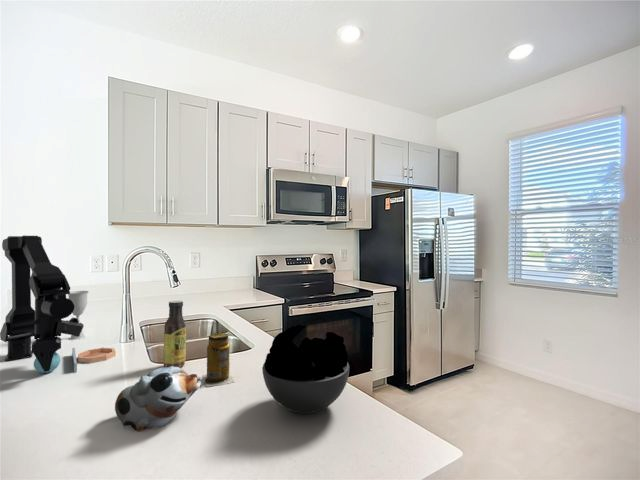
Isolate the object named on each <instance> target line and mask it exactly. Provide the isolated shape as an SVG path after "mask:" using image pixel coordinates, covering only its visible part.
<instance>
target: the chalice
mask: <svg viewBox="0 0 640 480" xmlns="http://www.w3.org/2000/svg"><path fill="white" fill-rule="evenodd" d="M88 294H89V290H73V291H70V294H67V295H68V299H70V300H71V301H72V302H73V304H74V310H73V312H72V314H73V316H75V318H78V323H80V321H81V319H80V316H82V315H83V314H84V311H85V309H86V307H87V304H88ZM83 337H84V338H86V335H85V334H84V331H83V330H82V331H81V334H80V336H74V335H70V337H69V339H70V340H80V338H81V339H84V338H83Z"/></svg>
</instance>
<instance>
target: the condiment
mask: <svg viewBox="0 0 640 480" xmlns="http://www.w3.org/2000/svg"><path fill="white" fill-rule="evenodd" d="M206 354H207V355H206V373H205V374H202V379H203V380H204V381H203V382H204V384H205V387H213V386H220V385H226V384H230V383H232V384H233V383H235V381H234V378H233V377H232V375H231V373H230V344H229V335H228V334H227V333H223V332H217V333H212V334H210V335H209V336H208V345H207V347H206Z"/></svg>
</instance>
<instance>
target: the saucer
mask: <svg viewBox="0 0 640 480" xmlns="http://www.w3.org/2000/svg"><path fill="white" fill-rule="evenodd" d="M115 356H116V348H114V347H98V348H97V347H96V348H91V349H87V350H84V351H83V352H80V353H78V354H77V362H78V363H80V362H84V363H87V364H93V363H97V362H103V361H107V360H109V359H111V358H114V357H115ZM84 363H83V364H84Z"/></svg>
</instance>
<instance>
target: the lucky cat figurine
mask: <svg viewBox="0 0 640 480" xmlns="http://www.w3.org/2000/svg"><path fill="white" fill-rule="evenodd" d="M202 382H203V378H202V377H201V376H199V375H198V374H196V373H192V374H189V373H187V372H186V371H185V369H182V367H181V368H179V367H172V366H171V367H166V368H164V367H160V368H156V369H154V370H152V371H150V372H148V373H147V374H146V375H145V374H143V375H141V377H140V379H139V380H138V381H137V382H136V383H134V384H133V385H130V386H126V387H125V388H124V389H123V390H121V391H120V393H119V394H118V395H117V397H116V399H115V403H114V411H115V414H116V417H117V418H118V420H119V421H120V423H121V425H122V426H123V427H129V426H130V427H131V428H132V430H133V431H135V432H142V431H147V430H153V429H158V428H162V426H163V427H165V425H167V424H168V422H170V421H171V420H172V419H174V417H175V416H177V415H176V414H177V413H178V411H179V410H180V409H181V408H182V407H183V406H184V405H185V404H186V403H187V402H188V400H189V399H190V398H191V397H192V396H193V395H194V394H195V393H196V391H197V390H198V389H199V388H200V386H201V384H202Z"/></svg>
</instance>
